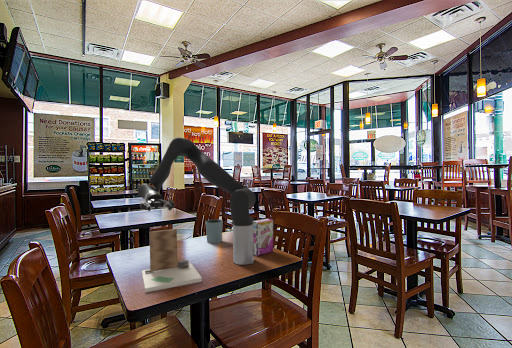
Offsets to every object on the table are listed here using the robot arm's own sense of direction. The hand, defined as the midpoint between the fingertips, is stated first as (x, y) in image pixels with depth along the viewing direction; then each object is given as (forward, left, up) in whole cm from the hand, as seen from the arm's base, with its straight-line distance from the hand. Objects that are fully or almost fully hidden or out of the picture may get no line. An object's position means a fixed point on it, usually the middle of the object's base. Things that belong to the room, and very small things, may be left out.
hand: (160, 208), depth 121 cm
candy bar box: (-43, -22, -26) cm, 55 cm away
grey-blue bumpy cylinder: (-14, -42, -26) cm, 52 cm away
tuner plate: (-8, +10, -26) cm, 29 cm away
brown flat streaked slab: (-5, +6, -24) cm, 25 cm away
